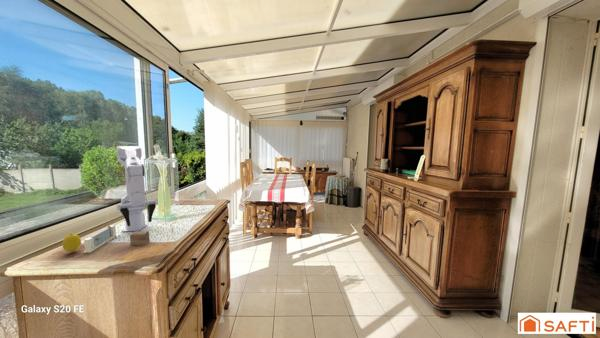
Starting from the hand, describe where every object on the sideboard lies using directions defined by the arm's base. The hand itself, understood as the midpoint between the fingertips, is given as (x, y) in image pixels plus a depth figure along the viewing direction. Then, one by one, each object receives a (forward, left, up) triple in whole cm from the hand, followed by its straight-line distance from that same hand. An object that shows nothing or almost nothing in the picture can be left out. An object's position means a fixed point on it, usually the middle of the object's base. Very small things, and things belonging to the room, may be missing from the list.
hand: (139, 223), depth 100 cm
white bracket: (-8, -20, -11) cm, 24 cm away
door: (-8, -19, -10) cm, 23 cm away
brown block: (-5, -3, -11) cm, 12 cm away
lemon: (0, -26, -11) cm, 28 cm away
